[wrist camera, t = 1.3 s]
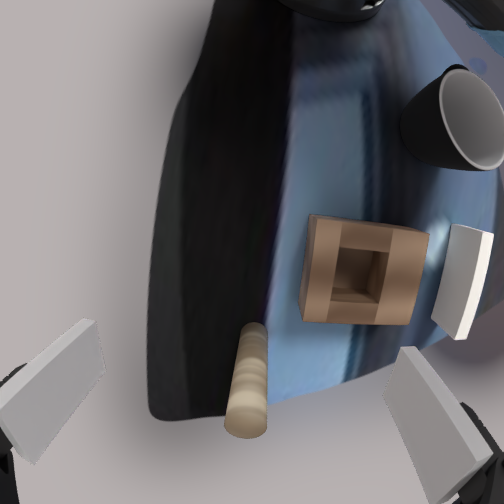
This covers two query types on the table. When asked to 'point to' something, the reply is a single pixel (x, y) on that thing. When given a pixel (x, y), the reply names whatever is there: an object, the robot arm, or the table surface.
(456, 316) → the rail
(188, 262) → the table surface
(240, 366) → the dowel
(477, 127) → the mug
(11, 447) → the robot arm
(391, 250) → the block
